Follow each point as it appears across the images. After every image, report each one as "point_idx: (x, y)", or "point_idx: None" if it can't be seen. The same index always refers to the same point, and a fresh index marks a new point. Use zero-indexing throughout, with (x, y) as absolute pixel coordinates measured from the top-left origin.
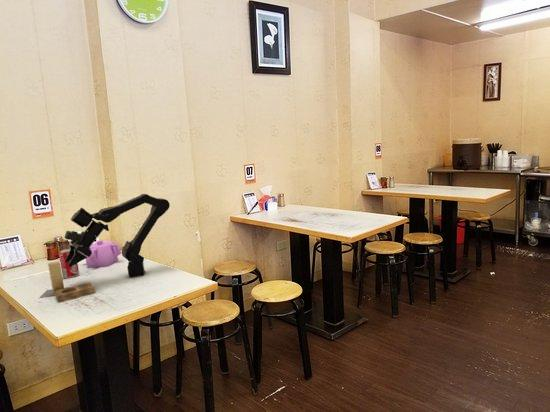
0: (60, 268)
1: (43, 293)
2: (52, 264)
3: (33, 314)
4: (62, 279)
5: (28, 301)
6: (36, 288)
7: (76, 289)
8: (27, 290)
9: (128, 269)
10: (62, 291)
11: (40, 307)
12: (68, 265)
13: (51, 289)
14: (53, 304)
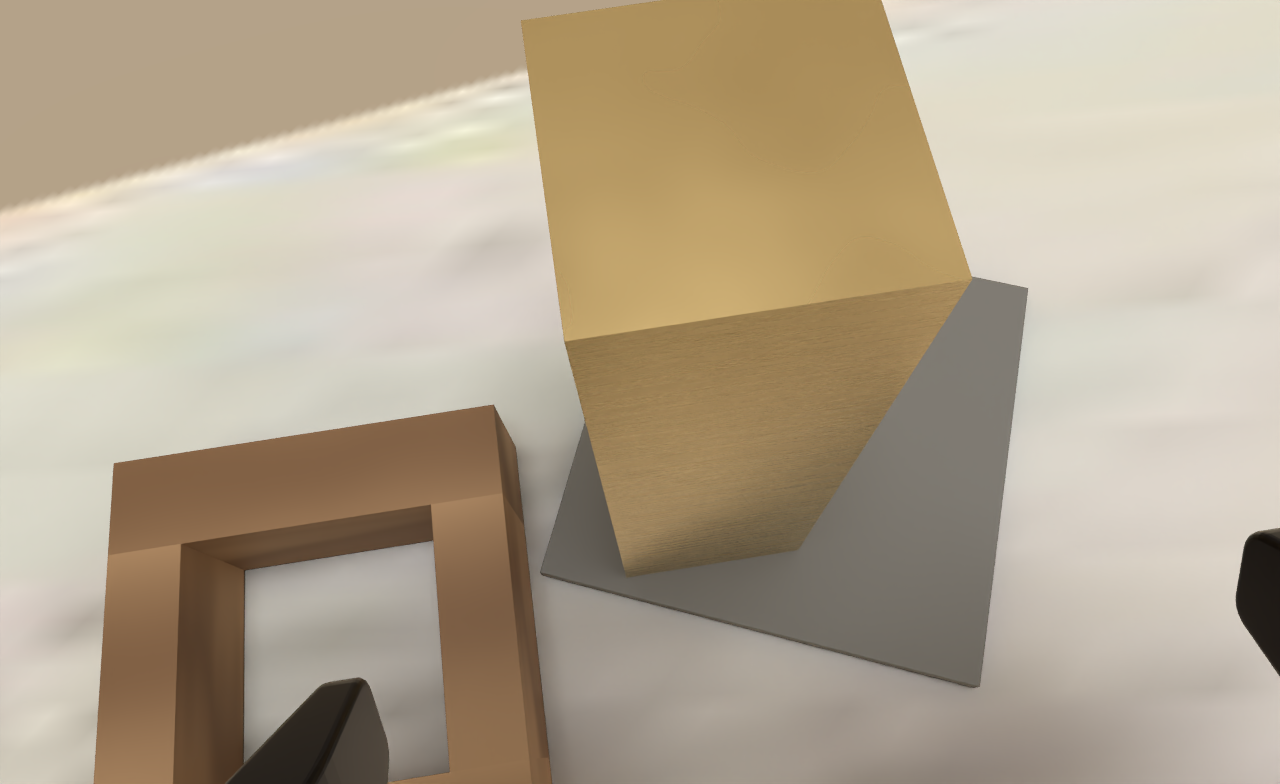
0: (583, 413)
1: None
2: (573, 110)
3: (10, 215)
4: (611, 511)
5: None
6: (1275, 142)
7: None
8: (1233, 42)
9: None
10: (438, 535)
11: (230, 270)
12: (315, 690)
13: (1018, 351)
14: (209, 426)
